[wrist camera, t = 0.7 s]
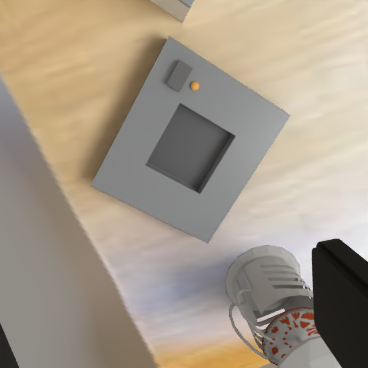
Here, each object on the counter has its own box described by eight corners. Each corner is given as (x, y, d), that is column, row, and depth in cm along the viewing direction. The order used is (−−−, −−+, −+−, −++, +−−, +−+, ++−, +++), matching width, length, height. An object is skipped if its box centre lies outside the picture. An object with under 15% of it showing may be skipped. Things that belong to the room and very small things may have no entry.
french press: (278, 321, 41) (454, 640, 17) (199, 296, 39) (278, 628, 15) (315, 259, 39) (575, 528, 15) (233, 229, 36) (391, 494, 13)
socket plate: (167, 39, 30) (169, 34, 27) (282, 113, 33) (293, 115, 30) (93, 180, 33) (89, 187, 30) (204, 235, 36) (208, 246, 34)
